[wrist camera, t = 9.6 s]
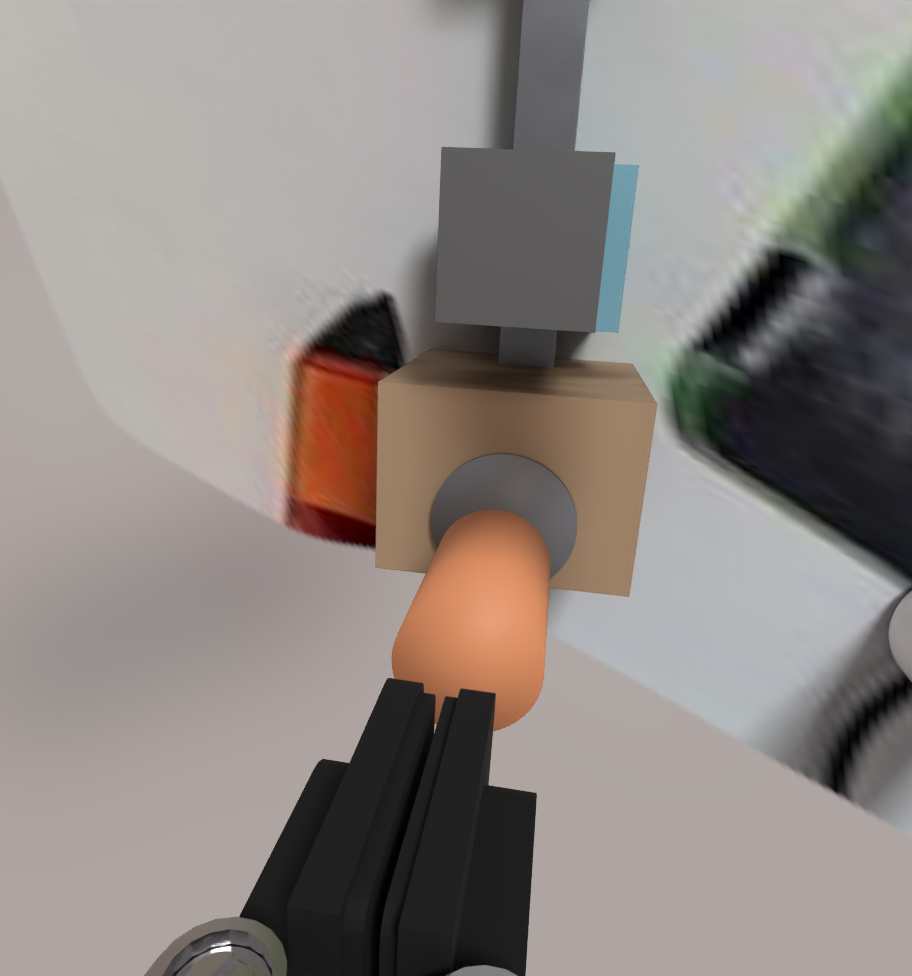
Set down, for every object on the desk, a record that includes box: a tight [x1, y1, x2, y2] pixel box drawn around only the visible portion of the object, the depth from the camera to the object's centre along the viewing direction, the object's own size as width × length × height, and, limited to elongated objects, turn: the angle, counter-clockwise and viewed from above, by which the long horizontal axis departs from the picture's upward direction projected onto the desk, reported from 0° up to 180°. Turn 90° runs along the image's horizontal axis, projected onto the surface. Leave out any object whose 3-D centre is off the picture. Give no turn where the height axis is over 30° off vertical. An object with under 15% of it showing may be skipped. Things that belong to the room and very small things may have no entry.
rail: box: [498, 0, 589, 368], centre depth 23 cm, size 5×16×4 cm, turn 177°
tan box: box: [376, 350, 657, 597], centre depth 24 cm, size 8×6×8 cm
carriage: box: [435, 147, 639, 333], centre depth 21 cm, size 6×5×10 cm
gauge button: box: [392, 510, 551, 731], centre depth 16 cm, size 3×3×5 cm
